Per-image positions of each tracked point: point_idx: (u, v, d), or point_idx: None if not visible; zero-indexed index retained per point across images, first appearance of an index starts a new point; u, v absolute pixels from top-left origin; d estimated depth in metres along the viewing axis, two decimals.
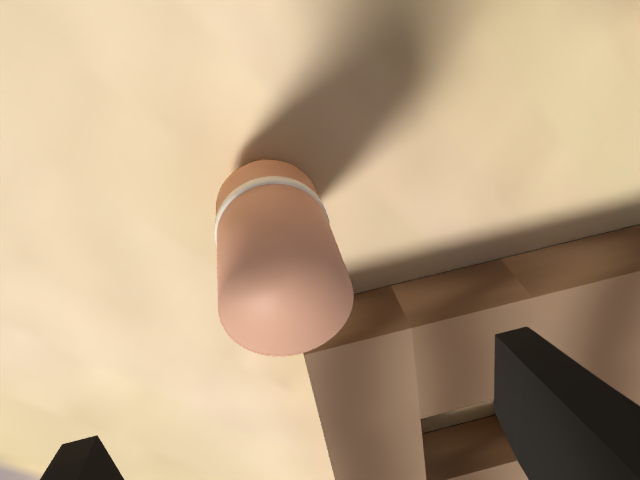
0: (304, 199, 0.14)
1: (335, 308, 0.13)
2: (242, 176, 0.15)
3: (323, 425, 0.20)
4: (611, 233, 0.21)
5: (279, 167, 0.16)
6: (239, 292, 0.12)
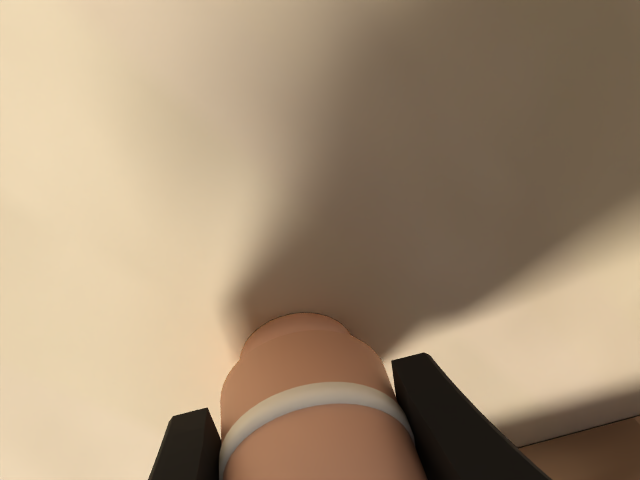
0: (385, 440, 0.08)
1: None
2: (267, 370, 0.09)
3: None
4: None
5: (330, 351, 0.09)
6: None
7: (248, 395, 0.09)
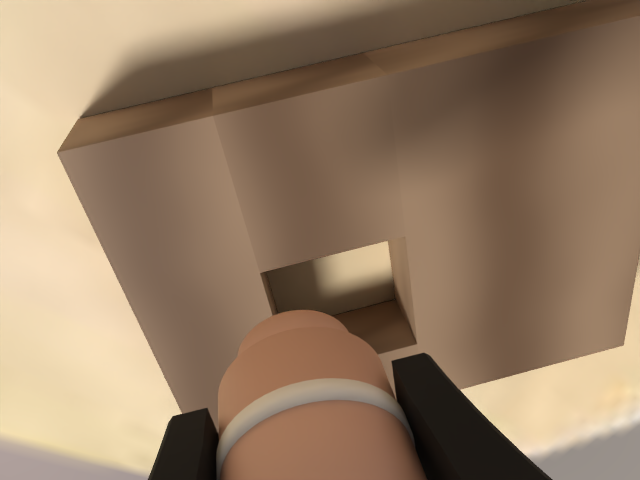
0: (379, 435, 0.08)
1: None
2: (260, 369, 0.09)
3: (118, 275, 0.15)
4: (514, 18, 0.16)
5: (323, 347, 0.09)
6: None
7: (242, 395, 0.09)
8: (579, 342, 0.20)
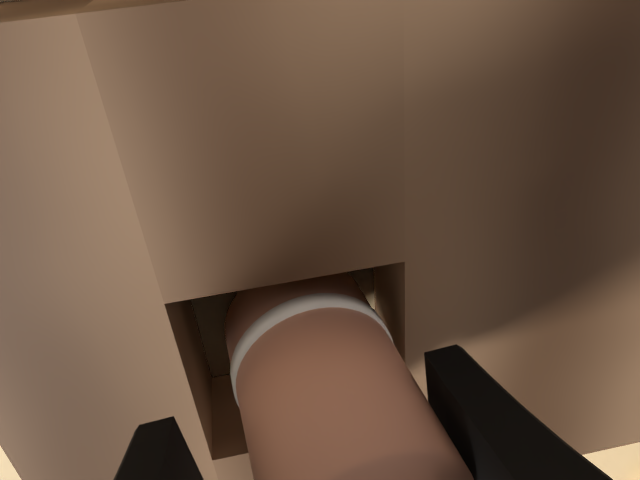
0: (366, 330, 0.10)
1: None
2: (263, 294, 0.11)
3: None
4: None
5: None
6: None
7: (249, 315, 0.10)
8: (628, 426, 0.14)
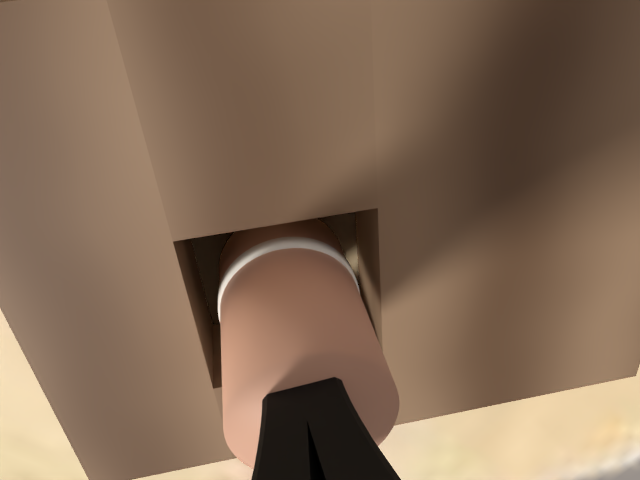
0: (328, 268, 0.11)
1: (375, 418, 0.10)
2: (249, 236, 0.13)
3: None
4: None
5: (294, 222, 0.13)
6: (250, 410, 0.09)
7: (236, 252, 0.12)
8: (584, 368, 0.16)
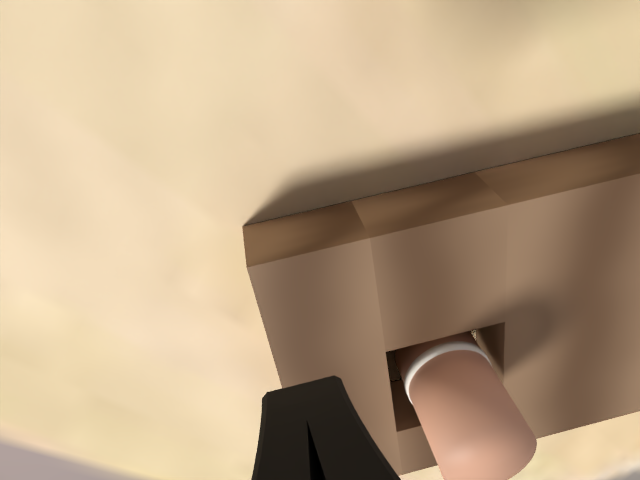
0: (479, 362, 0.19)
1: (522, 454, 0.17)
2: None
3: (275, 356, 0.18)
4: (598, 144, 0.19)
5: None
6: (457, 456, 0.17)
7: (415, 351, 0.20)
8: (635, 400, 0.23)
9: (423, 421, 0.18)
